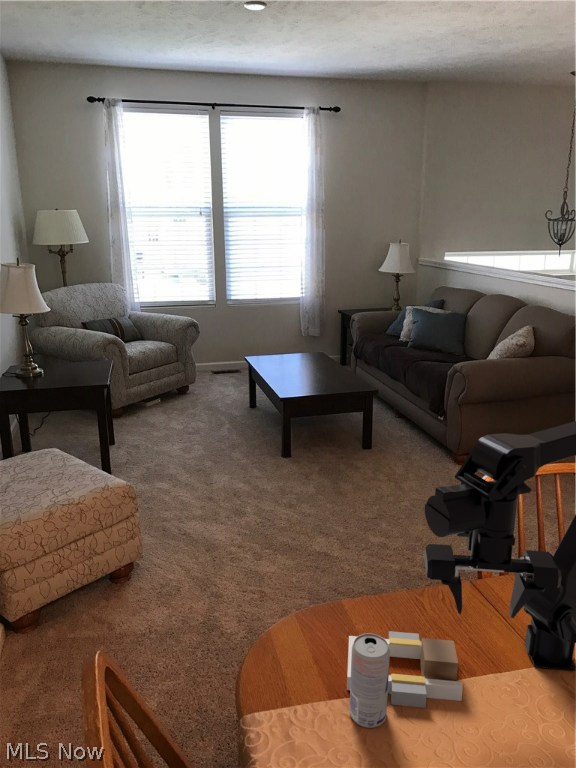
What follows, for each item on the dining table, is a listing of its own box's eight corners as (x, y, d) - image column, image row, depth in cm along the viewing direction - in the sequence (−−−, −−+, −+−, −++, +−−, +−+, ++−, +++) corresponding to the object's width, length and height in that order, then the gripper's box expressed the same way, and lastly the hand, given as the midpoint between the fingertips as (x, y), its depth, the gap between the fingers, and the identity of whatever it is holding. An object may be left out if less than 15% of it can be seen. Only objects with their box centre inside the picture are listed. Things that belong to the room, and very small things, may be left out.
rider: (451, 666, 96) (453, 640, 94) (455, 690, 91) (458, 663, 89) (420, 664, 96) (421, 638, 95) (422, 687, 91) (424, 660, 90)
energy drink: (385, 701, 88) (388, 633, 85) (387, 731, 83) (391, 659, 80) (349, 698, 89) (351, 631, 86) (349, 727, 84) (352, 657, 81)
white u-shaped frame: (450, 648, 99) (452, 634, 99) (463, 711, 87) (465, 696, 86) (348, 639, 102) (349, 626, 101) (346, 699, 89) (346, 685, 88)
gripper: (545, 500, 92) (535, 587, 96) (424, 493, 94) (418, 578, 99) (568, 536, 81) (555, 632, 85) (430, 528, 84) (424, 622, 88)
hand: (485, 614), depth 90 cm, fingers open, 7 cm apart
